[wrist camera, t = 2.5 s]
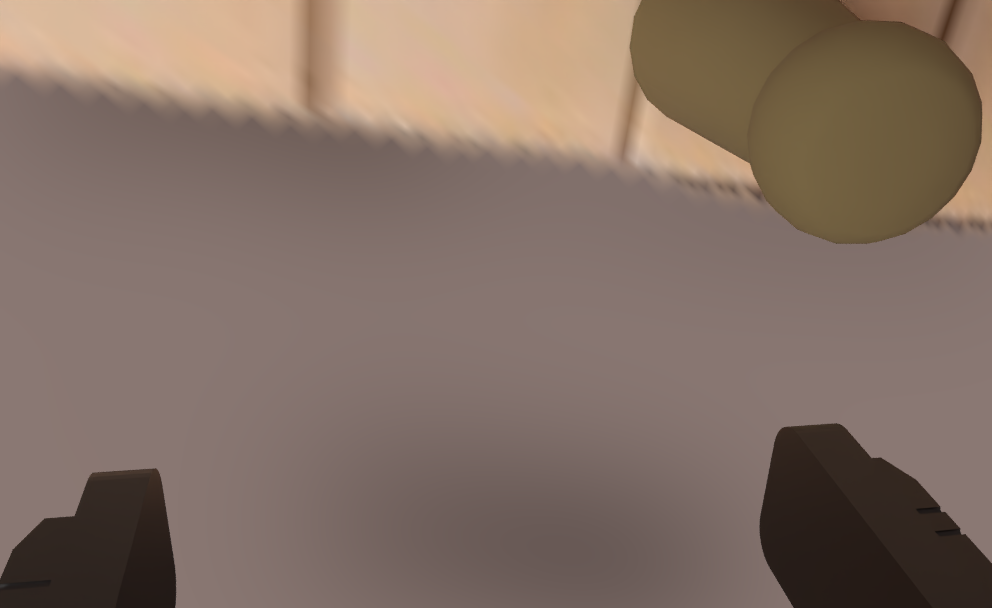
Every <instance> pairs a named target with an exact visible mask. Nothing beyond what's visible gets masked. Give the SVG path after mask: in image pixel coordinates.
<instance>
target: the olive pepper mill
mask: <svg viewBox="0 0 992 608" xmlns="http://www.w3.org/2000/svg"><path fill="white" fill-rule="evenodd" d="M630 52H631V58H632V64H633V70H634V76H635V78H636V80H637V81H638V83H639V85H640V87H641V89H642V91H643V93H644V94H645V96H646V98H647V100H648V101H650V102H651V103H652V104H653V105H654V106H655V107H656V108H658V109H659V110H660V111H661V112H662V113H663V114H664V115H666V116H667V117H668V118H670V119H672V120H674V121H675V122H677V123H679V124H681V125H683V126H684V127H686V128H688V129H690V130H691V131H693V132H695V133H697V134H699V135H700V136H702V137H704V138H706V139H707V140H709V141H711V142H713V143H714V144H716V145H718V146H720V147H722V148H723V149H725V150H727V151H729V152H730V153H732V154H734V155H736V156H738V157H739V158H741V159H743V160H745V161H746V162H748V163H750V165H751V168H752V171H753V175H754V177H755V179H756V181H757V183H758V185H759V187H760V189H761V191H762V193H763V195H764V197H765V199H766V201H767V202H768V203H769V204H770V205H771V206H772V207H773V208H774V209H775V210H776V211H777V212H778V213H779V214H780V215H781V216H782V217H784V218H785V219H786V220H787V221H788V222H789V223H790V224H792V225H793V226H794V227H795V228H796V229H798V230H800V231H803V232H805V233H808V234H811V235H813V236H816V237H819V238H822V239H825V240H827V241H831V242H833V243H836V244H837V243H838V244H867V243H872V242H878V241H882V240H885V239H889V238H892V237H896V236H899V235H903V234H905V233H907V232H909V231H911V230H912V229H914V228H916V227H917V226H919V225H921V224H923V223H924V222H926V221H928V220H929V219H931V218H932V217H933V216H934V215H935V214H937V213H938V212H939V211H940V210H941V209H942V208H943V207H944V206H945V205H946V204H947V203H948V202H949V201H950V200H951V199H952V198H953V197H954V196H955V195H956V193H957V192H958V190H959V189H960V187H961V186H962V184H963V183H964V181H965V180H966V178H967V177H968V175H969V173H970V172H971V170H972V167H973V164H974V162H975V159H976V156H977V153H978V150H979V147H980V144H981V132H982V102H981V99H980V96H979V93H978V90H977V87H976V84H975V81H974V78H973V74H972V73H971V72H970V71H969V69H968V68H967V67H966V66H965V65H964V63H963V62H962V61H961V60H960V59H959V58H958V57H957V55H956V54H955V53H954V52H953V51H952V50H951V49H950V48H949V46H948V45H947V44H946V43H945V42H944V41H943V40H940V39H938V38H936V37H934V36H932V35H929V34H927V33H925V32H923V31H921V30H918V29H916V28H914V27H912V26H909V25H907V24H905V23H902V22H889V21H861V20H860V19H859V18H858V17H856V16H855V15H854V14H853V13H852V12H851V11H850V10H849V9H847V8H846V7H845V6H844V5H843V4H842V3H841V2H840V1H838V0H642V1H641V3H640V5H639V8H638V10H637V12H636V14H635V16H634V22H633V29H632V36H631V43H630Z"/></svg>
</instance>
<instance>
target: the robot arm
mask: <svg viewBox="0 0 992 608" xmlns="http://www.w3.org/2000/svg"><path fill="white" fill-rule="evenodd" d="M760 539H761V545H762V549H763V553H764V556H765V559H766V561H767V564H768V565H769V567H770V569H771V570H772V572H773V574H774V576H775V577H776V579H777V581H778V582H779V584H780V586H781V587H782V589H783V591H784V592H785V594H786V596H787V597H788V599H789V601H790V602H791V604H792V606H793V607H794V608H992V563H991V562H990V561H989V560H988V559H987V558H986V557H985V555H984V554H983V553H982V552H981V551H980V550H979V549H978V548H977V547H976V545H975V544H974V543H973V542H972V541H971V540H970V539H969V538H968V537H967V536H966V534H964V535H961V533H960V528H959V527H958V526H957V525H956V523H955V522H954V521H953V520H952V519H951V518H950V517H949V516H948V515H947V513H946V512H941V510H940V506H939V505H938V504H937V502H936V501H935V500H934V499H933V498H932V497H931V496H930V495H929V494H928V493H927V491H926V490H925V489H924V488H923V487H922V486H921V485H920V484H919V483H918V481H917V480H915V479H914V478H912V477H911V476H909V475H908V474H906V473H904V472H903V471H901V470H899V469H898V468H896V467H895V466H893V465H892V464H890V463H889V462H887V461H885V460H884V459H882V458H871V457H870V456H869V455H868V454H867V452H866V451H865V450H864V449H863V448H862V447H861V446H860V444H859V443H858V442H857V441H856V440H855V439H854V437H853V436H852V435H851V434H850V433H849V432H848V430H847V429H846V428H845V427H843V426H842V425H840V424H837V423H836V424H821V425H807V426H793V427H784V428H782V429H781V430H780V431H779V432H778V434H777V436H776V439H775V443H774V448H773V453H772V458H771V463H770V469H769V474H768V479H767V484H766V490H765V495H764V500H763V505H762V511H761V516H760ZM175 605H176V574H175V564H174V558H173V551H172V545H171V538H170V532H169V526H168V519H167V512H166V506H165V500H164V493H163V488H162V482H161V477H160V474H159V472H158V470H157V469H156V468H155V469H141V470H127V471H112V472H98V473H92V474H91V475H90V477H89V479H88V481H87V484H86V486H85V490H84V492H83V495H82V497H81V500H80V503H79V506H78V508H77V511H76V514H75V516H72V517H59V518H46V519H44V520H43V521H42V522H41V523H40V524H39V525H38V526H36V528H34V529H33V530H32V531H31V532H30V533H29V534H28V535H27V536H26V537H25V538H24V539H23V540H22V541H21V542H20V543H19V544H18V545H17V546H16V547H15V548H14V549H13V551H12V553H11V556H10V558H9V560H8V562H7V565H6V567H5V569H4V572H3V574H2V576H1V578H0V608H175Z"/></svg>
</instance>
